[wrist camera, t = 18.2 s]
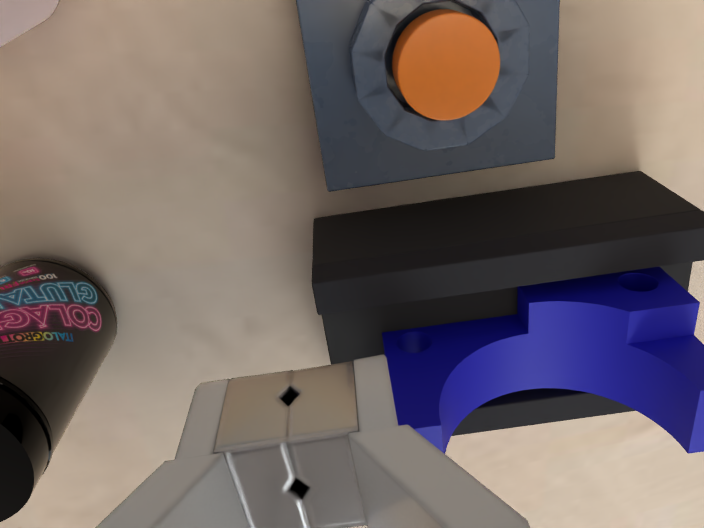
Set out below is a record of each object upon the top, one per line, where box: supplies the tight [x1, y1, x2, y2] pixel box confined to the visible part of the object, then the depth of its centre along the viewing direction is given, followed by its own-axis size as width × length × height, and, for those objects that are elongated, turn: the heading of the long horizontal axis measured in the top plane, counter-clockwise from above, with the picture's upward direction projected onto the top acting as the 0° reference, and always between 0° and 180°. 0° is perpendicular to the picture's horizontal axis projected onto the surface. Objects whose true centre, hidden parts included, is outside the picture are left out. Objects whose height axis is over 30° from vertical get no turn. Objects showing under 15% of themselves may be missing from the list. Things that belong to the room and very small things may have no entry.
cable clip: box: [382, 267, 704, 454], centre depth 23 cm, size 12×4×6 cm, turn 97°
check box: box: [296, 0, 560, 192], centre depth 23 cm, size 10×10×4 cm
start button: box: [392, 9, 500, 121], centre depth 21 cm, size 4×4×2 cm
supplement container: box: [0, 258, 117, 522], centre depth 25 cm, size 7×7×10 cm
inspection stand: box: [312, 171, 704, 436], centre depth 27 cm, size 9×16×6 cm, turn 98°
